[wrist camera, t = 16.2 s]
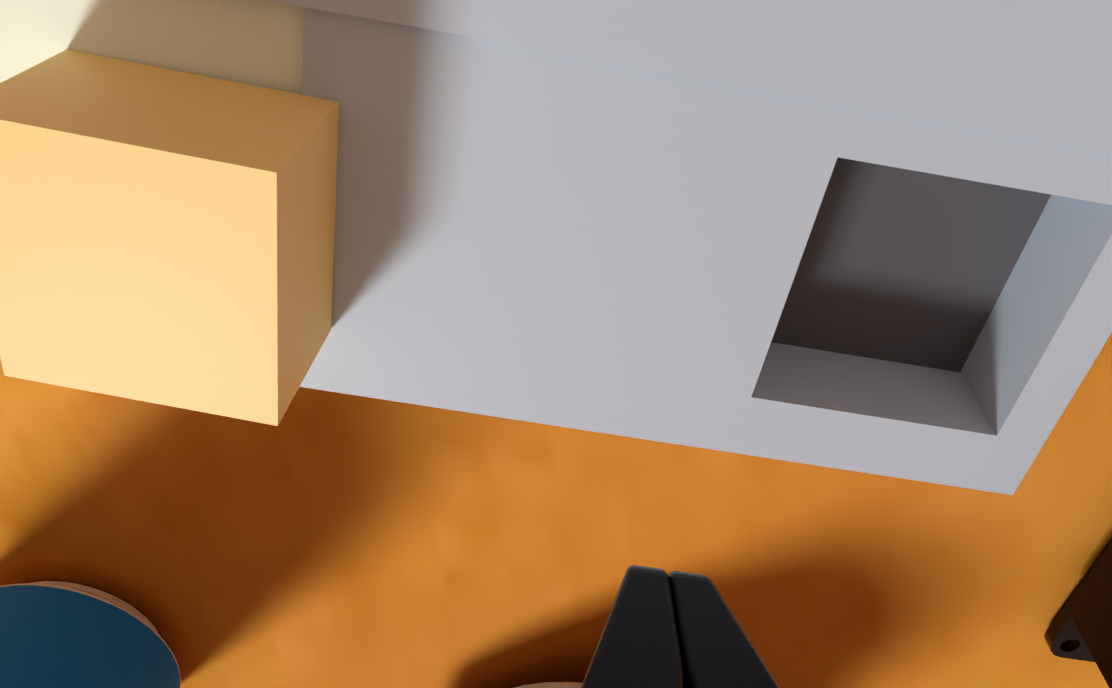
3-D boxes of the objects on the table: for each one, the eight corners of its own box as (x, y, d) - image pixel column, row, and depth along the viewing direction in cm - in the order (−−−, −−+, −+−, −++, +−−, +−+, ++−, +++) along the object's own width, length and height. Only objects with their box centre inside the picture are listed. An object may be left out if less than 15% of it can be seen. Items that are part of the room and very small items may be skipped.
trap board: (1415, -391, 13) (1582, -418, 11) (972, 423, 21) (1016, 501, 19) (-114, -732, 12) (-279, -842, 9) (53, 279, 20) (-13, 346, 18)
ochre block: (338, 101, 15) (276, 172, 12) (331, 328, 17) (278, 425, 15) (66, 48, 15) (-53, 109, 12) (98, 285, 17) (4, 375, 15)
